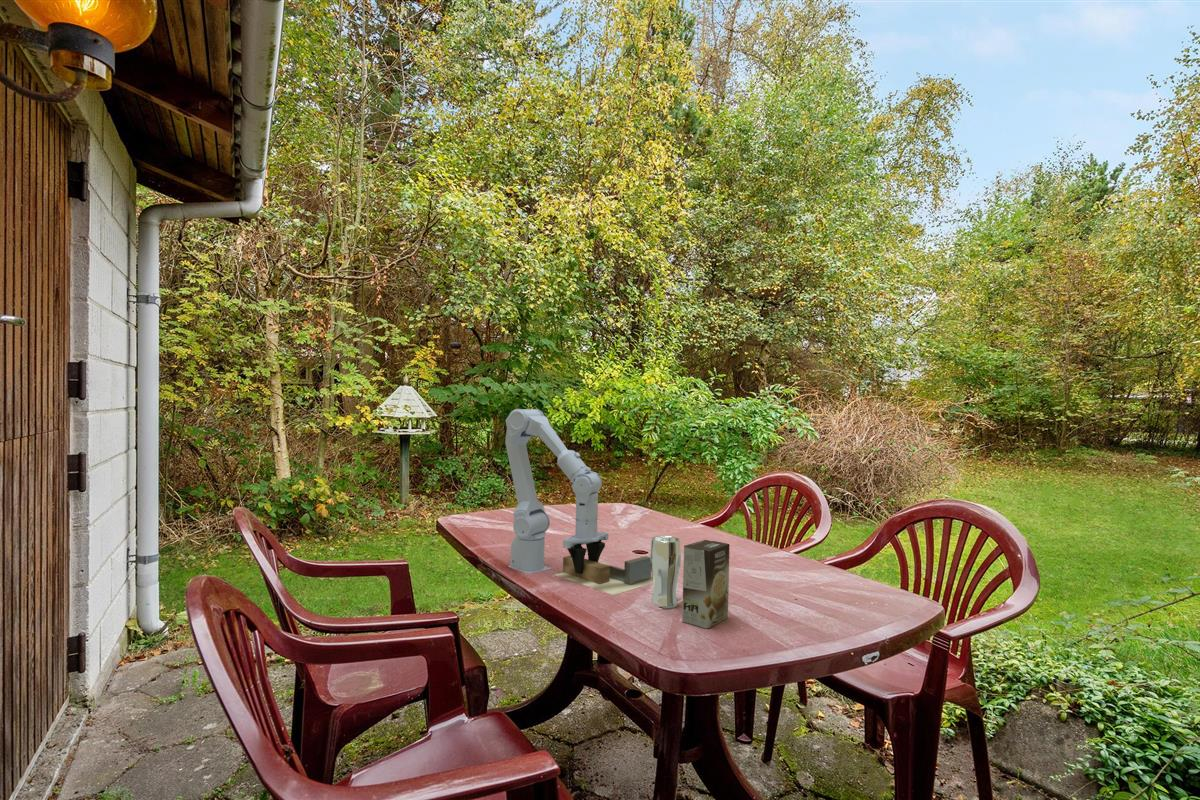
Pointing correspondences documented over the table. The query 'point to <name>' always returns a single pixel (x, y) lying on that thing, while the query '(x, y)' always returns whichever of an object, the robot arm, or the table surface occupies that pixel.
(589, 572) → the brown wooden block
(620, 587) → the board
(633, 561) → the bracket
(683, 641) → the table surface
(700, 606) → the coffee box
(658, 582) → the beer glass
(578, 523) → the robot arm
